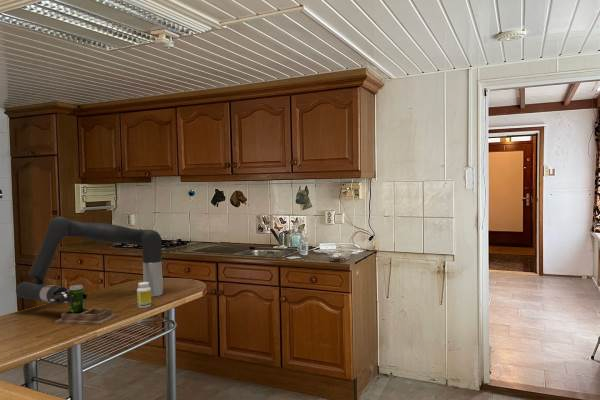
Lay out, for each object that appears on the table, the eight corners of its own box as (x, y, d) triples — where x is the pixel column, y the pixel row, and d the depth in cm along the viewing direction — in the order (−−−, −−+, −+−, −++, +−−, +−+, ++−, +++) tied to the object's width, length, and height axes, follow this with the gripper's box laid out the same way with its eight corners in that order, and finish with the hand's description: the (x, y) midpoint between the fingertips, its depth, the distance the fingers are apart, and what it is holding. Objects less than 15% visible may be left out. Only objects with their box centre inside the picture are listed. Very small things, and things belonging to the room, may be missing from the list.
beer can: (80, 311, 194) (79, 284, 193) (86, 313, 190) (85, 285, 189) (67, 314, 190) (66, 286, 189) (73, 316, 186) (72, 288, 185)
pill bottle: (154, 304, 209) (153, 281, 209) (145, 308, 203) (144, 284, 203) (143, 303, 211) (142, 281, 211) (134, 307, 206) (133, 284, 205)
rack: (55, 323, 185) (54, 315, 185) (74, 314, 197) (73, 306, 197) (100, 325, 182) (100, 316, 181) (117, 315, 193) (117, 308, 193)
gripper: (37, 289, 189) (65, 293, 182) (67, 282, 202) (94, 285, 195) (38, 307, 189) (66, 311, 182) (68, 298, 202) (95, 302, 195)
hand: (80, 298), depth 188 cm, fingers closed on beer can, 5 cm apart
